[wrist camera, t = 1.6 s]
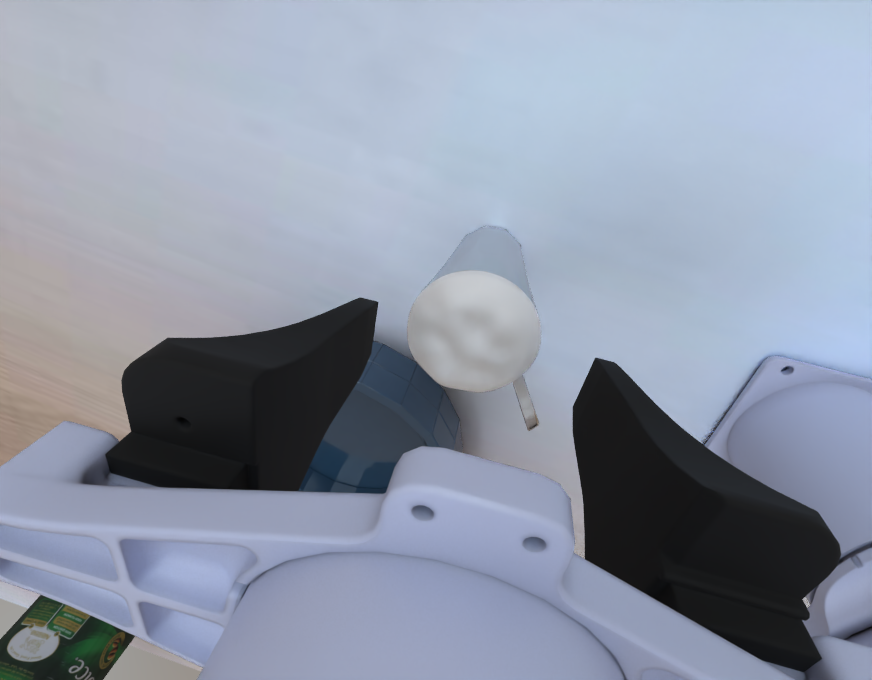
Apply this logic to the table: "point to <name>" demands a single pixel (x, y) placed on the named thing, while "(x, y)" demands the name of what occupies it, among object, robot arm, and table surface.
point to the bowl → (382, 426)
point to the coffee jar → (60, 644)
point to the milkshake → (479, 319)
